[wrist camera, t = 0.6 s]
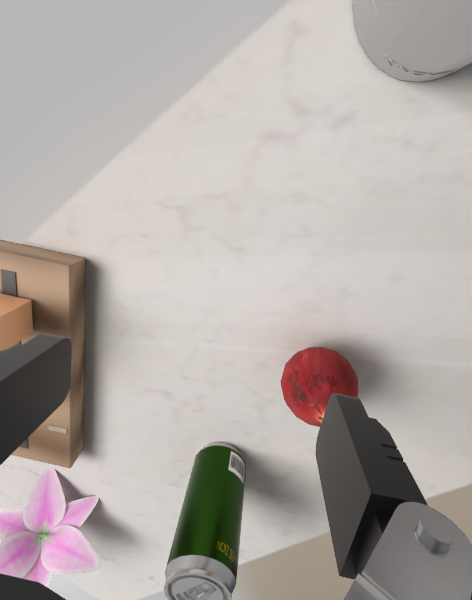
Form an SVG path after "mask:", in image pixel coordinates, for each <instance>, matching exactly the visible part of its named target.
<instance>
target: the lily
mask: <svg viewBox="0 0 472 600" xmlns="http://www.w3.org/2000/svg"><path fill="white" fill-rule="evenodd" d="M98 500H99V497H97V496H91V497H86V498H82V499H78V500H75V501H72V502H69V503H65V497H64V494H63V490H62V487H61V484H60V481H59V478H58V476H57V473H56V471H55V469H54V468H52V467H50V466H49V467H47V468H46V469H45V471H44V472H43V473H42V475H41V477H40V478H39V480H38V482H37V483H36V485H35V487H34V489H33V491H32V492H31V494H30V496H29V498H28V500H27V502H26V505H25V508H24V509H0V540H1V541H2V543H1V544H0V573H1V574H5V575H9V576H14V577H18V578H23V579H27V580H31V581H36V582H39V583H41V584H43V585H44V586H46V587H47V588H48V585H49V583H50V580H51V578H52V575H53V573H56V574H78V573H86V572H91V571H95V570H97V569H98V568H99V567H100V561H99V558H98V556H97V555H96V553H95V551H94V550H93V548H92V547H91V545H90V544H89V542H88V541H87V539H86V538H85V537H84V535H83V534H82V533H81V532H80V531H79V530H78V529H79V528H80V526H81V525H82V524H83V523H84V521H85V520H86V519H87V517H88V516H89V514H90V513H91V512H92V510H93V508H94V507H95V505H96V504H97V502H98Z"/></svg>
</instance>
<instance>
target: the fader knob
mask: <svg viewBox="0 0 472 600" xmlns="http://www.w3.org/2000/svg"><path fill="white" fill-rule="evenodd" d="M31 333H33V321H32V303H31V300H29V299H24V298H19V297H15V296H10V295H6V294H1V293H0V351H3V350H6V349H9V348H11V347H12V346H14V345H15V344H17V343H18V342H20V341H21V340H23V339H24V338H25V337H27V336H28V335H30V334H31Z"/></svg>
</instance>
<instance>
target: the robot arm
mask: <svg viewBox="0 0 472 600" xmlns="http://www.w3.org/2000/svg"><path fill="white" fill-rule="evenodd" d="M353 14H354V25H355V28H356V32H357V35H358V39H359V42H360V44H361V46H362V48H363V49H364V51H365V53H366V55H367V57H368V58H369V59H370V60H371V61H372V62H373V63H374V64H375V65H376V67H377V68H379V69H380V70H382V71H383V72H385V73H386V74H388V75H389V76H391V77H394V78H398V79H401V80H404V81H414V82H423V81H429V80H435V79H438V78H441V77H443V76H446V75H448V74H451V73H453V72H455V71H457V70H459V69H461V68H463V67H465V66H467V65H468V64H470V63H472V0H353ZM71 357H72V343H71V340H70V339H69V338H65V337H61V336H56V335H51V334H46V333H42V334H40V335H38V336H36V337H35V338H33V339H31V340H29V341H28V342H26V343H24V344H23V345H19V346H16V347H13V348H9V349H6V350H3V351H0V465H1V464H2V463H3V462H4V461H5V460H6V459H7V458H8V457H9V456H10V455H11V454H12V453H13V452H14V451H15V450H16V449H17V448H18V447H19V446H20V445H21V444H22V443H23V442H24V441H25V440H26V439H27V438H28V437H29V436H30V435H31V434H32V433H33V432H34V431H35V430H36V429H37V428H38V427H39V426H40V425H41V424H42V423H43V422H44V421H45V420H46V419H47V418H48V417H49V416H50V415H51V414H52V413H53V412H54V411H55V410H56V409H57V408H58V407H59V406H60V405H61V404H62V403H63V402H64V400H65V399H66V397H67V395H68V392H69V389H70V384H71ZM316 459H317V464H318V469H319V475H320V480H321V485H322V490H323V495H324V500H325V505H326V511H327V516H328V521H329V526H330V531H331V536H332V541H333V546H334V552H335V557H336V561H337V567H338V572H339V575H340V576H342V577H346V578H351V579H355V581H354V582H353V584H352V586H351V588H350V589H349V591H348V593H347V595H346V597H345V599H344V600H472V544H471V542H470V540H469V539H468V538H467V537H466V535H465V534H464V533H463V531H462V530H460V528H459V527H458V526H457V525H456V524H455V523H454V522H452V521H451V520H450V519H449V518H448V517H446V516H445V515H443V514H442V513H440V512H439V511H437V510H435V509H433V508H431V507H429V506H428V505H427V503H426V501H425V499H424V497H423V495H422V493H421V491H420V490H419V488H418V486H417V484H416V482H415V480H414V478H413V476H412V474H411V473H410V471H409V469H408V467H407V465H406V463H405V462H403V458H402V456H401V454H400V452H399V450H397V446H396V444H395V442H394V441H393V439H392V437H391V435H390V433H389V432H388V431H387V430H386V429H385V428H384V427H383V426H382V425H381V424H380V423H379V422H378V421H377V420H376V419H373V418H369V417H368V415H367V413H366V411H365V409H364V407H363V405H362V402H361V400H360V399H359V398H356V397H351V396H346V395H342V394H337V393H332V394H331V396H330V398H329V400H328V404H327V407H326V410H325V414H324V417H323V420H322V423H321V427H320V430H319V433H318V437H317V443H316ZM0 600H65V599H64V598H62V597H61V596H59V595H58V594H56V593H55V592H53V591H52V590H50V589H49V588H47V587H46V586H44V585H43V584H41V583H39V582H36V581H31V580H27V579H23V578H18V577H14V576H9V575H5V574H1V573H0Z"/></svg>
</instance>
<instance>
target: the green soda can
mask: <svg viewBox="0 0 472 600" xmlns="http://www.w3.org/2000/svg"><path fill="white" fill-rule="evenodd" d="M245 476H246V463H245V461H244V458H243V456H242V454H241V452H240V451H239V450H238V449H237V448H236V447H234V446H232V445H230V444H227V443H224V442H214V443H210V444H208V445H206V446H204V447H203V448H202V449H201V450H200V451H199V453H198V454H197V455H196V458H195V462H194V465H193V469H192V473H191V477H190V480H189V484H188V488H187V492H186V495H185V499H184V503H183V507H182V510H181V514H180V518H179V522H178V525H177V529H176V533H175V537H174V540H173V544H172V548H171V552H170V555H169V559H168V563H167V567H166V570H165V576H166V583H165V586H164V591H165V595H166V596H167V598H168V599H169V600H231V597H232V595H231V594H232V592H233V590H234V588H235V585H236V577H237V566H238V555H239V544H240V532H241V521H242V510H243V498H244V487H245Z"/></svg>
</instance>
